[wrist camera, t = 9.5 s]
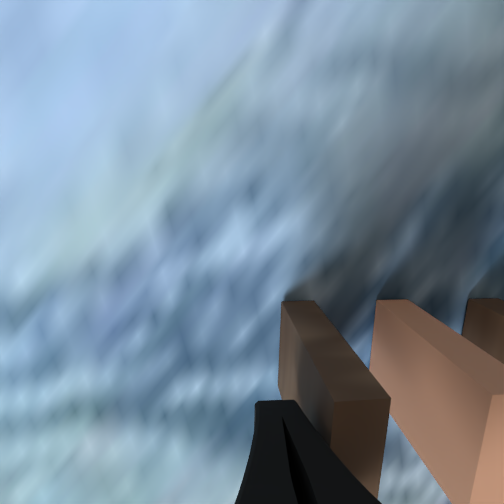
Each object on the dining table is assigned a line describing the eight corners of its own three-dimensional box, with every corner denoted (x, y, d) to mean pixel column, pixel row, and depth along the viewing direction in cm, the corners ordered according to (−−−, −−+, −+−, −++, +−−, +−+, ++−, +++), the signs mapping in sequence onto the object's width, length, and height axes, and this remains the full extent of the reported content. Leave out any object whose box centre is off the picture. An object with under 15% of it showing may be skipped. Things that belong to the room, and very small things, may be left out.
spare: (407, 299, 16) (545, 392, 9) (397, 380, 17) (512, 518, 10) (376, 299, 16) (492, 394, 9) (367, 381, 17) (465, 523, 10)
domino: (313, 300, 15) (391, 398, 9) (308, 383, 16) (373, 529, 10) (281, 301, 15) (334, 401, 8) (277, 385, 16) (322, 534, 9)
